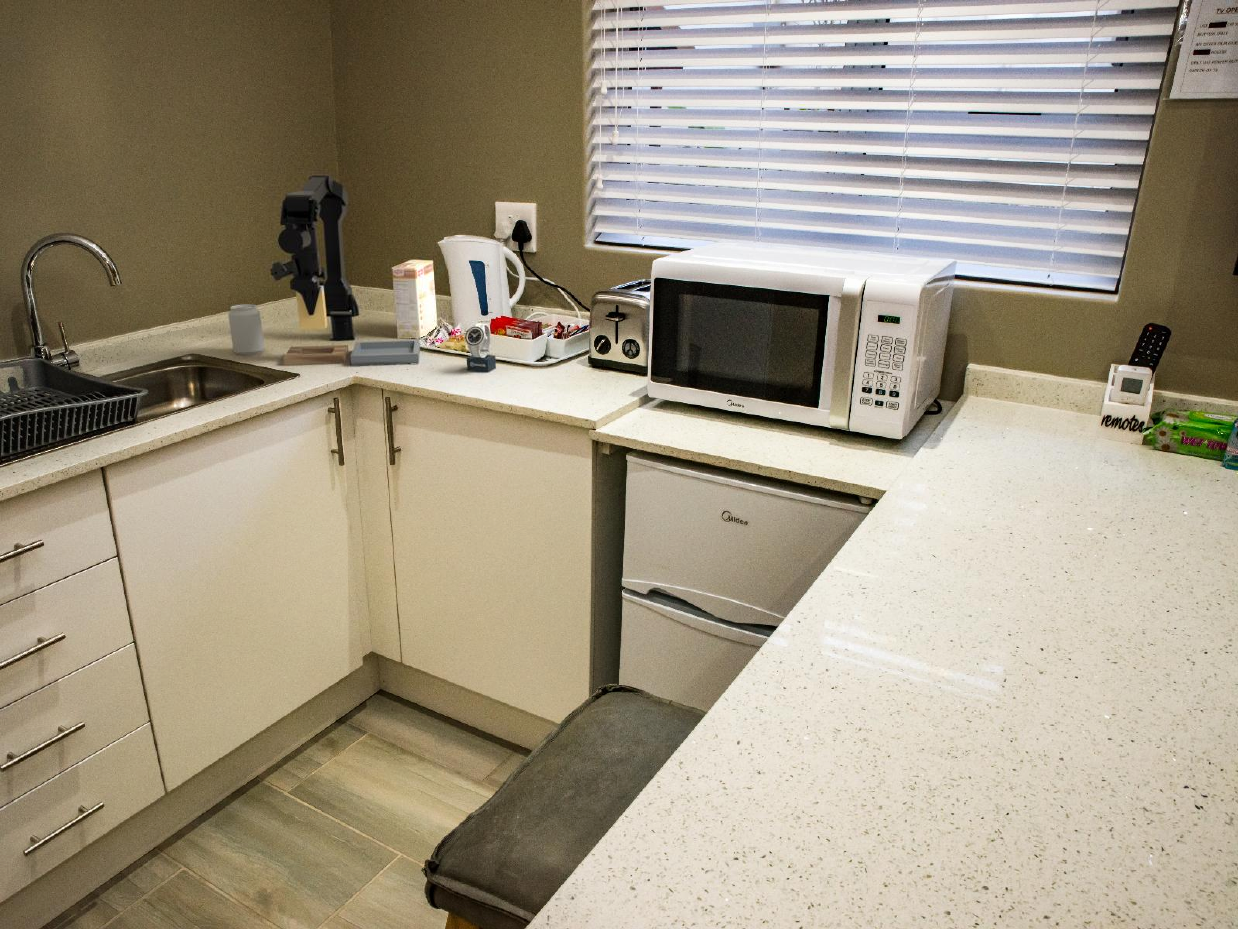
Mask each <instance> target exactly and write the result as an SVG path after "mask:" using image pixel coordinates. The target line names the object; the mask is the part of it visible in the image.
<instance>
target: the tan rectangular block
mask: <svg viewBox="0 0 1238 929" xmlns="http://www.w3.org/2000/svg"><path fill="white" fill-rule="evenodd" d="M319 287H320V286H319ZM295 296H296V303H297V304H296V305H297V313H298V321H299V322H298V323H299V331H300V330H301V331H305V330H326V329H327V328H328V320H327V319H328V318H327V316H326V306H325V297H324V287H323V286H321V289H320V293H319V296H318V300H317V304H316V308H315V312H314V315H309V314H308V311H307V308H306V306H305V303H304V300H303V297H302V295H301V294H300V293H298V292H297V291H295Z"/></svg>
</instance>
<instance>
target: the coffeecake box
mask: <svg viewBox="0 0 1238 929" xmlns="http://www.w3.org/2000/svg"><path fill="white" fill-rule="evenodd" d="M434 273H435V272H434V260H426V259H425V260H423V259H408V260H407V261H404V262H403V263H400V264H398V265H395V266H392V267H391V274H392V285H393V287H392V288H393V295H394V296H393V298H394V309H395V320H396V322H395V323H396V334H397V339H399V340H412V339H411V338H419V337H423V336H425V337H427V336H428V335H429V334H430V333H429V332H431V331H432V330H433V329H435V327H436V326H437V327H438V316H437V304H436V303H437V302H436V299H437V298H436V286H435V274H434ZM428 333H429V334H428ZM431 333H432V332H431ZM427 334H428V335H427ZM407 338H408V339H407ZM409 338H410V339H409ZM423 338H424V337H423Z"/></svg>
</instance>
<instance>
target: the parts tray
mask: <svg viewBox="0 0 1238 929" xmlns="http://www.w3.org/2000/svg"><path fill="white" fill-rule="evenodd" d="M419 354H421V344H420V339H399V340H376V341H375V340H374V341H373V340H372V341H369V340H368V341H356V342H355V344H354V346H353V349H352V351H351V354H350V364H351V367H365V366H366V367H369V366H370V365H373V366H392V365H393V366H395V365H396V364H400V365H408V364H407V363H419V362H420V355H419ZM390 364H391V365H390Z"/></svg>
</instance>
